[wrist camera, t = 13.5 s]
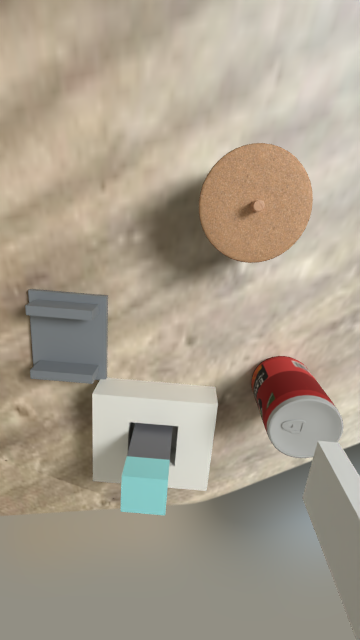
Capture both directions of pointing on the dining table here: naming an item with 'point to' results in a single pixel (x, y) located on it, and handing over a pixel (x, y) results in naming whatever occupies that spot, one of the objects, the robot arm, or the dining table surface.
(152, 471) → the plug
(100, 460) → the port
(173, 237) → the dining table surface
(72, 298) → the holster
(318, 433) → the canned food
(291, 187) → the lidded jar
